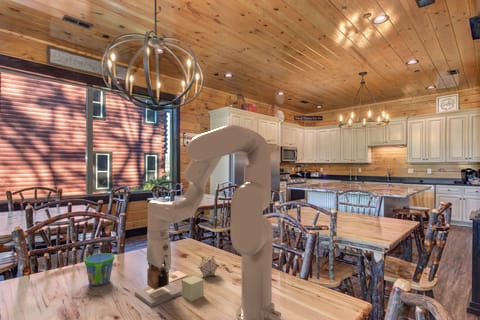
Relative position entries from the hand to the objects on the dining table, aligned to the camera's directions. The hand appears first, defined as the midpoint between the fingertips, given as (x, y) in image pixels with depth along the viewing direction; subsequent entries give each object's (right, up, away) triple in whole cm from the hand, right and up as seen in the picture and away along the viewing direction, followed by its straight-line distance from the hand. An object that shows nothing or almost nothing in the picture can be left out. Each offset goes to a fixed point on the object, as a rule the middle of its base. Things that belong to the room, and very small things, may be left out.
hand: (158, 282), depth 100 cm
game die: (+17, -5, +16) cm, 24 cm away
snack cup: (-26, -5, +10) cm, 28 cm away
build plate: (0, -4, 0) cm, 4 cm away
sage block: (+13, -4, -1) cm, 14 cm away
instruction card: (+2, -4, +15) cm, 16 cm away
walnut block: (0, -1, 0) cm, 1 cm away
